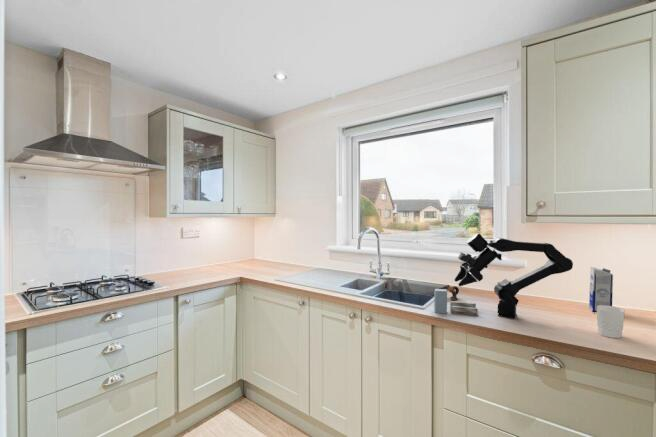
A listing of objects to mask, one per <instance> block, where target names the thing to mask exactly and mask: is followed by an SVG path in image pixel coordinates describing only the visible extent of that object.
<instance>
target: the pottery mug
mask: <svg viewBox="0 0 656 437" xmlns="http://www.w3.org/2000/svg"><path fill="white" fill-rule="evenodd" d="M439 289H446V290H447V292H448V293H451V294H452V296H450V301H454V302H455V301H457V300H458V297H457V295H458V294H459V292H460V289H459V287H458V286H456V285H455V286H452V287H451V286H450V284H446V285H444V286H442V287H439Z"/></svg>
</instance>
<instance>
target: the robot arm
mask: <svg viewBox="0 0 656 437" xmlns="http://www.w3.org/2000/svg"><path fill="white" fill-rule="evenodd" d="M466 244H467V245H468V246H469V247H470V248H471V249H472V250H473V251H474V252H475V253H477V252H478V255H474V256H472V254H470V253H464V252H462V251H461V252H459V255H458V257H457V259H459V260H460V261H462V262H461V263H460V265H459V267H460V270H459V272H458V274H457V275H456V276H455V278H454V282H456V283H457V282H459V283H458V284H457V285H458V286H459V287H463V286H466V285H469V284H473V283H478V282H481V281H482V280H483V279H484V274H482V273H481V272H482V271H483V270H484V269H488V267H489V265H490V264H491V263H492V262H493V261H495V259H497V260H499V261H502V255H503V254H502V253H506V252H507V253H509V252H515V251H521V252H535V253H536V252H537V253H544V255H545V256H546V258H547V261H546V262H545V264H543V265H542V266H540V267H538V268H536V269H534V270H532V271H530V272H528V273H526V274H524V275H522V276H519V277H518V278H515V279H514V280H510V281H509V280H508V279H507V278H504V279H503V280H501V281H500V282H497V284H495V286H494V287H493V288H494V289H493V291H494V294H495V295H496V296H497V297H498V300H499V301H498V303H497V316H498V317H504V318H509V319H514V320H515V319H516V318H517V316H518V313H517V305H518V303H519V299H518V298H517V297H516V296H517V294H518V293H519V292H520V291H521V290H523V289H525V288H527V287H529V286H531V285H533V284H535V283H537V282H540V281H541V280H543V279H545V278H548V277H549V276H552V275H557V274H563V273H567V272H569V271H571V270H573V266H574V263H573V260H572V259H570V258H569V257H566V256H565V255H564V254H563V253H562V252H561V251H560V250H558V249H557V248H556V247H555V245H553V244H551V243H547V242H544V243H543V242H529V241H515V240H512V239H511V240H510V239H507V238H503V237H495V238H493V239H492V240H486V239H485V238H484V237H483V236H482V234H480V233H479V232H477V233H475V235H473V236H471V237H469V238H468V239H467V241H466ZM497 251H498V252H497ZM499 252H501V253H499Z"/></svg>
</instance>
